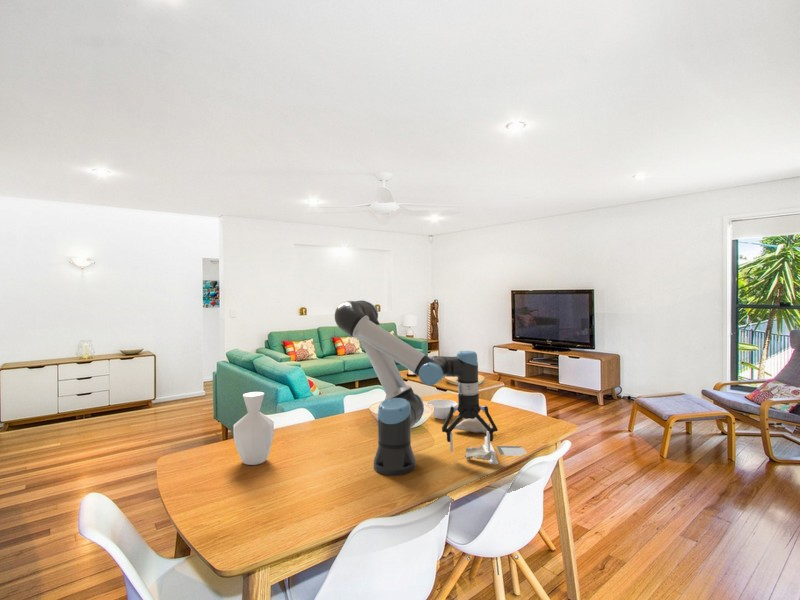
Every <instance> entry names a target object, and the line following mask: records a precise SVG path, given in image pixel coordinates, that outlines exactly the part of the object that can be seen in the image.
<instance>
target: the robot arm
mask: <svg viewBox="0 0 800 600" xmlns="http://www.w3.org/2000/svg"><path fill="white" fill-rule="evenodd" d="M378 319H379V311H378V309H377V307H376V306H375V305H374V304H373V303H371V302H370V301H366V300H363V299H361V300H347V301H344V302H342V303H340V304H339V305H338V306H337V307H336V309H335V313H334V322H335V323H336V325H337V327H339V329H340V330H341V331H343V332H344V333H346V334H347V335H349V336H350V337H352V338H353V339H355V340H358V341H360V343H361V346H362V348H363V350H364V352H365V354H366V356H367V358H368V361H369V362H370V364H371V367H373V371H374V372H375V375H376V376H377V379H378V380H379V382H380V384H381V386H382V387H381V388H382V389H383V391H384V393H385V398H384V399H383V400H382V401H381V402H380V403H379V404H378V409H377V428H378V429H377V432H378V433H377V435H378V436H377V437H378V438H377V440H378V441H377V443H378V445H377V449H376V453H375V454H374V458H373V469H374V471H375V472H376V473H378V474H381V475H384V476H389V477H390V476H391V477H397V476H398V477H400V476H404V475H408V474H410V473H412V472H414V471H415V470H416V463H417V462H416V457H415V455H414V451H413V449H412V446H411V445H412V444H411V443H412V441H411V437H412V436H411V433H412V432H411V429H412V428H413V427H414V426H415V424H417V423H418V422H419V421H420V420H422V416H423V415H424V411H425V407H424V406H425V405H424V402H423V400H422V398H421V397H420V396H419V395H418V394H417V393H415V391H414V390H413V388H412V386H411V385H408V384H406V381H405V380H404V379H403V376H402V374H401V372H400V371H399V369H398V366H397V365H396V362H397V364H399V365H401V366H402V367H404V368H406V369H407V370H409V371H410V372H412V373H414V374H415V375H416V376H418V377H419V380H420V382H421V383H422V384H424V385H426V386H433V385H434V386H435V385H436V384H438V383H440V382H441V381H442V380H443V379H444V378H445V377H448V378H449V377H451V378H453V377H454V378H457V392H458V395H457V397H458V399H457V401H458V402H457V403H458V405H457V407H453V406H452V405H451V406H450V412H449V414H448V416H447V418H446V419H444V420H445V421H444V423H443V425H442V426H441V431H442V433H446V442H447V443H449V449H450V452H451V453H453V452H454V449H453V446H454V445H453V431H454V430H455V429H454V428H455V426H456V425H458V424H459V423H460V422H461V421H463V420H465V419H469V418H470V419H474V418H475V417H476V418H477V419H478V420H479V421H480V422H481V423H482V424H483V425H484V427H485V428H486V429H487V430H488V431H487V433H486V436H487V450H488V451H490V442H493V440H494V437H493V436H494V432H498V431H499V430H498V427H497V426H496V424H495V422H494V420H493V418H492V416H491V414H490V413H489V408H488V406H487V405H486V404H484V405H483V406H480V396H479V395H480V394H479V362H478V353H476V352H475V351H474V350H473V351H472V350H460V351H458V352H456V355H455V356H441V355H440V356H439V355H433V356H432V355H431V356H427V355H426V354H425V353H423V352H422V351H420V350H418V349H416V348H415V347H414V346H412V345H410V344H409V343H407V342H405V341H403V340H402V339H400V338H399V337H397V336H396V335H394V334H393V333H391V332H389V331H387V330H386V329H384V328H383V327H381V323H380V321H379V320H378ZM480 411H482V412H483V413H484V414H485V415H486V417H487V419H488V421H489V423H490V426H489V425H488V423H487V422H486V420H485V419H484V418H483V417H482V416H481V415H480V414H479V413H480ZM456 412H458V414H457V416H456V418H455V419H454V420H453V421H452V422H451V420H452V418H453V416H454V413H456ZM481 417H482V418H483V419H484V420H485V421H484V420H483V419H482V418H481ZM450 422H451V423H450ZM449 424H450V425H449ZM491 426H492V427H491Z"/></svg>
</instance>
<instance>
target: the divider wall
mask: <svg viewBox="0 0 800 600" xmlns="http://www.w3.org/2000/svg"><path fill="white" fill-rule="evenodd" d="M481 446H482V447H483V450H484V451H485V452H490V451H492V459H490V460H488V463H489V465H499V461H498V458H497V453H496V450H495V449H494V447H493V445H492V443H491V442H490V451H488V450H487V435H486V436H484V444H482V445H481Z"/></svg>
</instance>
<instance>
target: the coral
mask: <svg viewBox="0 0 800 600" xmlns="http://www.w3.org/2000/svg"><path fill="white" fill-rule="evenodd" d="M464 457H465V459H466V460H472V459H473V458H475V459H477V460H483V461H489V460H490V459H492V451H490V452H485V451H484V448H483V446H482V445H479V446H478V447H475V446H471V447H470V446H467V447H466V448H465V455H464Z"/></svg>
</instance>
